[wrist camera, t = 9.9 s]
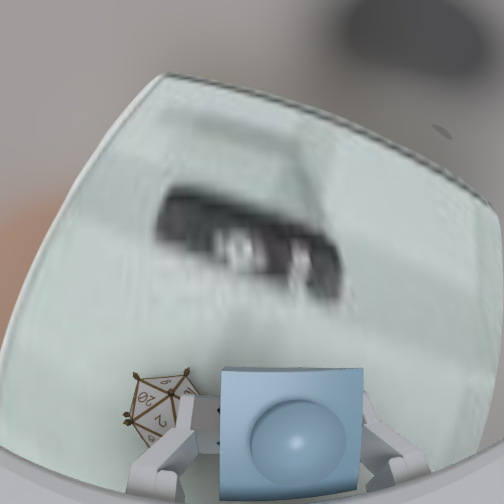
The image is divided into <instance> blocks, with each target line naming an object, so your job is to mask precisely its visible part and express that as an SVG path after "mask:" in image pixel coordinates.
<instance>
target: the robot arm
mask: <svg viewBox="0 0 504 504" xmlns="http://www.w3.org/2000/svg"><path fill="white" fill-rule="evenodd" d="M220 406H221V397H216V396H204V395H194V394H184V393H182V395H181V397H180V402H179V408H178V414H177V420H176V427H175V428H171V429H170V430H169V431H167V432H166V433H165V434H164V435H163V436H162V437H161V438H160V439H159V440H158V441H157V442H156V443H154V444H153V445H152V446H151V447H150V448H149V449H148V450H147V451H146V452H145V453H143V454H142V455H141V456H140V457H139V458H138V459H137V460H135V461H134V462H133V463H132V465H131V470H130V474H129V479H128V483H127V488H126V493H122V492H118V491H114V490H110V489H106V488H102V487H99V486H96V485H92V484H89V483H86V482H83V481H80V480H77V479H74V478H71V477H68V476H66V475H63V474H60V473H58V472H55V471H53V470H50V469H48V468H45V467H43V466H40V465H38V464H36V463H34V462H31V461H29V460H27V459H25V458H23V457H21V456H19V455H17V454H15V453H13V452H11V451H9V450H7V449H5V448H4V447H2V446H0V504H185V494H184V492H183V489H182V486H181V484H180V481H179V477H180V476H181V475H182V474H183V472H184V471H185V470H186V469H187V468H188V467H189V465H190V464H191V463H192V462H193V460H194V459H195V458H196V457H197V456H198V453H206V454H220ZM360 461H361V462H362V463H363V464H364V465H365V466H366V467H367V468H368V469H369V470H370V471H371V472H372V473H373V474H374V475H375V476H374V477H373V478H372V479H371V480H370V481H369V482H368V483H367V484H366V485H365V486H366V490H367V493H364V494H360V495H355V496H350V497H345V498H340V499H334V500H328V501H321V502H314V503H306V504H504V438H503V439H502V440H500V441H498V442H497V443H495V444H493V445H491V446H489V447H488V448H486V449H484V450H482V451H480V452H478V453H476V454H474V455H472V456H470V457H468V458H466V459H463V460H461V461H459V462H457V463H455V464H452V465H450V466H448V467H445V468H443V469H440V470H438V471H435V472H433V473H431V471H430V469H429V466H428V464H427V462H426V459H425V457H424V455H423V452H422V450H421V449H420V448H419V447H417V446H416V445H414V444H413V443H411V442H410V441H409V440H407V439H406V438H404V437H403V436H402V435H400V434H399V433H397V432H396V431H395V430H393V429H392V428H391V427H389V426H388V425H386V424H385V423H384V422H382V421H380V422H379V421H378V419H377V416H376V414H375V411H374V409H373V406H372V404H371V401H370V399H369V396H368V394H367V393H366V392H365V391H363V417H362V436H361V450H360Z"/></svg>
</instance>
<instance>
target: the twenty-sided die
mask: <svg viewBox="0 0 504 504" xmlns="http://www.w3.org/2000/svg"><path fill="white" fill-rule="evenodd" d="M189 372H190V370H189V367H188V368H187V369H185V371H184V375H179V376H169V377H159V378H146V379H140V377H139V376H138V373H135V372H133V377H134V378H135V379H136V380H137V381H138V382H137V386H136V389H135V393H134V397H133V401H132V405H131V409H130V413H128V412H125V413H124V414H123V415H124V416H125V417H130V419H131V420H130V419H128V420H127V419H126V420H125V421H124V422H123V424H126V425H127V426H129V425H131V424H133V426H134V427H135V429H136V430H137V432H138V433H139V435H140V436H141V438H142V439H143V440H144V442H145V443H146V445H147V446H148V447H149V448H150V447H151V446H152V445H153V444H154V443H156V442H157V441H158V440H159V439H160V438H161V437H162V436H163V435H164V434H165V433H166V432H167V431H169V430H170V429H171V428H175V427H176V420H177V414H178V408H179V402H180V397H181V395H182V393H184V394H194V395H200V394H199V392H198V391H197V390H196V388H195V387H194V386H193V384H192V383H191V382H190V380H189V379H188V377H187V375H188V374H189Z"/></svg>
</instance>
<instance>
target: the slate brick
mask: <svg viewBox="0 0 504 504" xmlns="http://www.w3.org/2000/svg"><path fill="white" fill-rule="evenodd" d="M362 417H363V368H301V367H298V368H249V367H225V368H224V369H223V370H222V371H221V406H220V501H272V500H288V499H299V498H308V497H316V496H323V495H330V494H336V493H342V492H347V491H352V490H357V481H358V472H359V462H360V450H361V436H362Z"/></svg>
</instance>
